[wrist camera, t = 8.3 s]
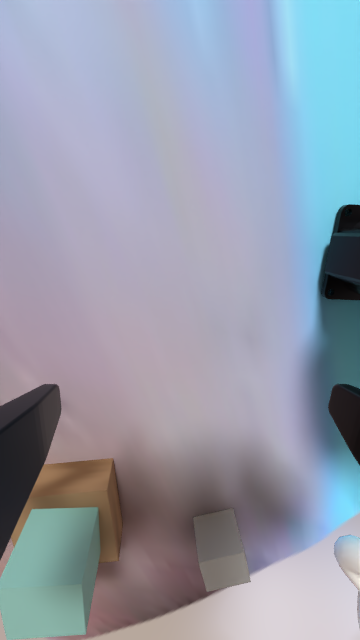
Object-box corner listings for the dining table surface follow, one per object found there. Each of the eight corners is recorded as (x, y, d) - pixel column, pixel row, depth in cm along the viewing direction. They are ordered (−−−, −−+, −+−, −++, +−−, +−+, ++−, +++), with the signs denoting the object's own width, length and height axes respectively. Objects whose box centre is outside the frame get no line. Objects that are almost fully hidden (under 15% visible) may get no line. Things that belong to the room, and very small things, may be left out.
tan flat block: (113, 455, 25) (106, 489, 21) (123, 520, 27) (118, 560, 24) (20, 463, 24) (-1, 500, 21) (39, 529, 27) (22, 571, 23)
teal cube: (98, 506, 22) (81, 584, 17) (100, 551, 23) (85, 634, 18) (31, 509, 21) (-5, 589, 17) (38, 554, 23) (6, 639, 18)
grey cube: (232, 507, 27) (244, 552, 23) (238, 535, 28) (250, 581, 25) (192, 516, 27) (198, 562, 23) (200, 543, 28) (206, 592, 25)
